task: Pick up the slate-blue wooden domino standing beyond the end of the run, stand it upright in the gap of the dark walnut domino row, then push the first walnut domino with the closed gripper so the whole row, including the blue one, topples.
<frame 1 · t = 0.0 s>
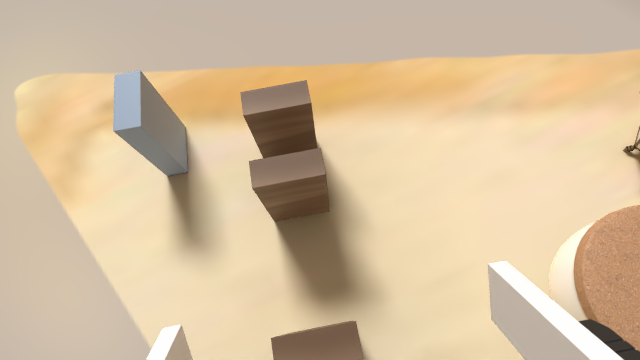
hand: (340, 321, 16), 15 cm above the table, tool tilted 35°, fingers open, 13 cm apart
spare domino: (176, 150, 36), on the table
lidded jar: (592, 296, 30), on the table
domino 2: (323, 340, 29), on the table
domino 5: (290, 150, 36), on the table
domino 4: (300, 205, 34), on the table
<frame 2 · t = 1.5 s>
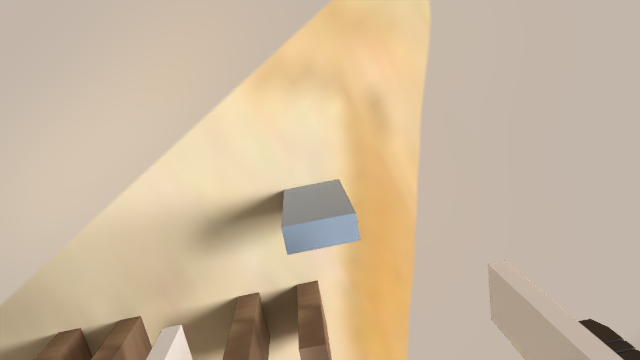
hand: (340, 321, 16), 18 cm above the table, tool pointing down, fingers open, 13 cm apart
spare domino: (313, 195, 33), on the table
domino 2: (138, 340, 36), on the table
domino 5: (312, 305, 36), on the table
domino 1: (79, 352, 36), on the table
domino 4: (254, 316, 36), on the table
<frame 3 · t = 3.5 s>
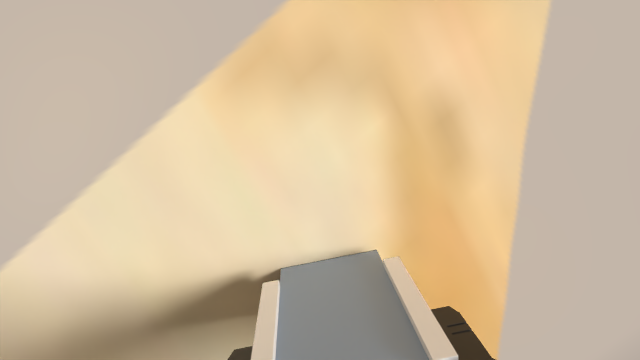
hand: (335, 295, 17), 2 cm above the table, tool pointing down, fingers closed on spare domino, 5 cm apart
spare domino: (332, 276, 19), on the table, touching gripper
when the fingers open (3 cm above the table, at t = 9.2 s): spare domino stays where it is, on the table.
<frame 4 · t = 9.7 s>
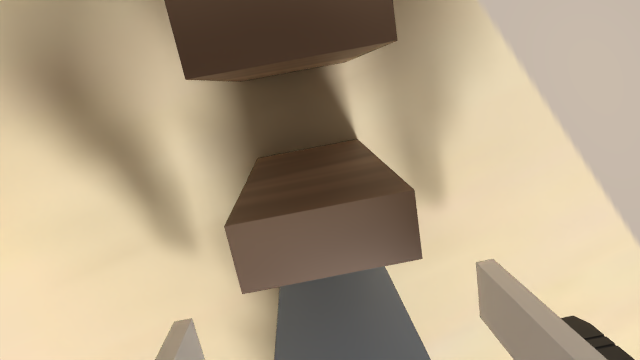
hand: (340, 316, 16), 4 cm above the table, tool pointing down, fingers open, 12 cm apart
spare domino: (330, 269, 20), on the table
domino 2: (311, 168, 18), on the table
domino 1: (288, 49, 17), on the table
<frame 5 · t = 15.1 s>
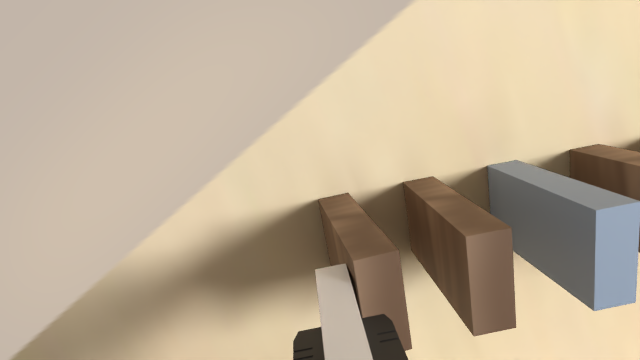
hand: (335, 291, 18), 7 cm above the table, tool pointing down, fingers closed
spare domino: (503, 198, 25), on the table
domino 2: (421, 214, 25), on the table
domino 1: (339, 231, 25), on the table, tilted 5°
domino 4: (583, 182, 25), on the table
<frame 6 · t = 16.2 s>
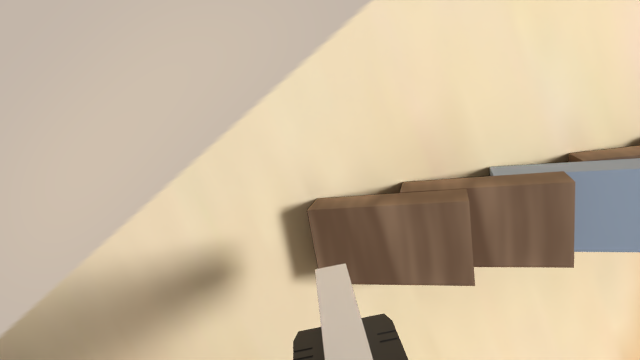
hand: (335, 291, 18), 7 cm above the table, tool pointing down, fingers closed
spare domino: (492, 208, 24), point 1 cm above the table, tilted 69°, touching domino 4
domino 2: (405, 223, 24), point 1 cm above the table, tilted 69°, touching domino 1
domino 1: (319, 240, 24), point 1 cm above the table, tilted 69°, touching domino 2
domino 4: (575, 194, 24), point 1 cm above the table, tilted 75°, touching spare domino
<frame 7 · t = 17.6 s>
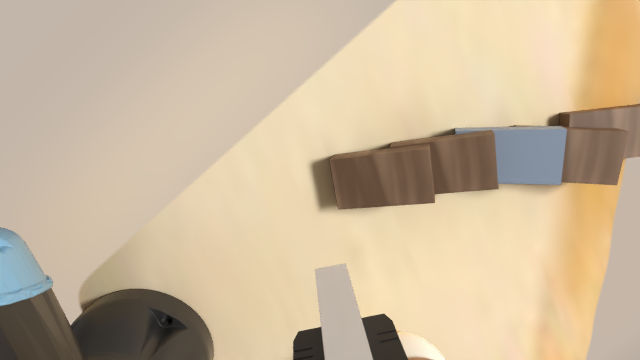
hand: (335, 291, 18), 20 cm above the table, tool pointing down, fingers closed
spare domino: (454, 155, 36), point 1 cm above the table, tilted 69°, touching domino 2, domino 4
lidded jar: (392, 353, 43), on the table
domino 2: (394, 169, 36), point 1 cm above the table, tilted 70°, touching domino 1, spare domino
domino 5: (561, 138, 37), on the table, tilted 90°
domino 1: (336, 181, 36), point 1 cm above the table, tilted 70°, touching domino 2
domino 4: (513, 152, 36), point 1 cm above the table, tilted 75°, touching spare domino
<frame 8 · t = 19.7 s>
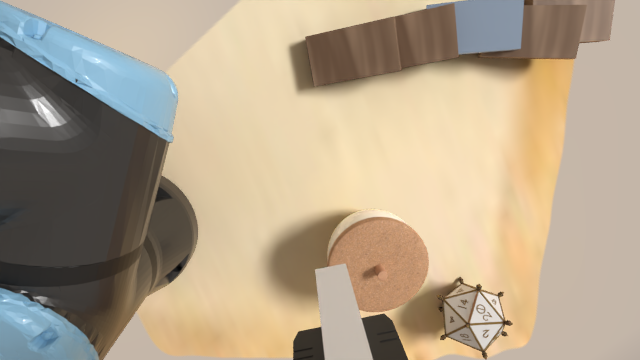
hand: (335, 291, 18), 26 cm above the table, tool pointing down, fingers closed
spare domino: (426, 32, 39), point 1 cm above the table, tilted 70°, touching domino 4
lidded jar: (364, 237, 46), on the table
domino 2: (366, 49, 39), point 1 cm above the table, tilted 71°, touching domino 1
domino 5: (526, 22, 40), point 1 cm above the table, tilted 90°
domino 1: (312, 61, 39), point 1 cm above the table, tilted 71°, touching domino 2
domino 4: (483, 32, 40), point 1 cm above the table, tilted 72°, touching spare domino
game die: (457, 296, 49), on the table
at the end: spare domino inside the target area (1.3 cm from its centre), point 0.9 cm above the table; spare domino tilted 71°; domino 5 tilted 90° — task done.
